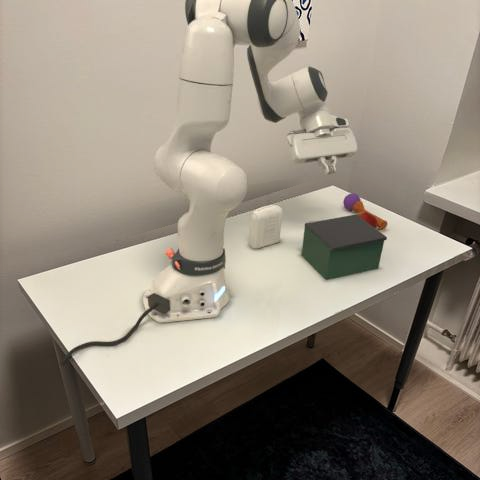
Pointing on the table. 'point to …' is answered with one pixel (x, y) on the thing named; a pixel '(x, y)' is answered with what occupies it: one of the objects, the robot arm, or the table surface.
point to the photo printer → (265, 226)
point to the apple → (368, 218)
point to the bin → (340, 257)
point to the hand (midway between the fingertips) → (330, 173)
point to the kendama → (361, 208)
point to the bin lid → (345, 232)
